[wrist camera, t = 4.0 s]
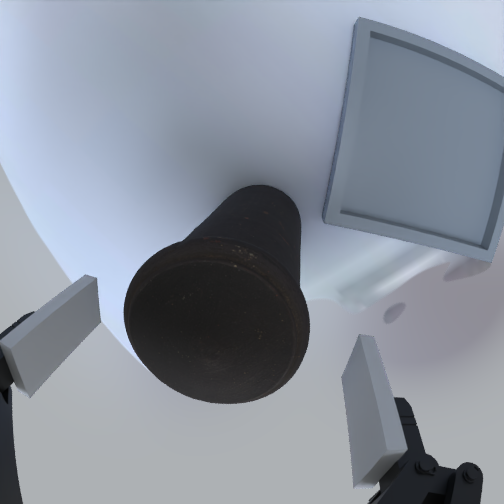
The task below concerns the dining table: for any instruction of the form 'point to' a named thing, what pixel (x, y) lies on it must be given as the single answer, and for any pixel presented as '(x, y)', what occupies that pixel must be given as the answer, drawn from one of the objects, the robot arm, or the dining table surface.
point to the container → (225, 302)
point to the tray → (419, 145)
